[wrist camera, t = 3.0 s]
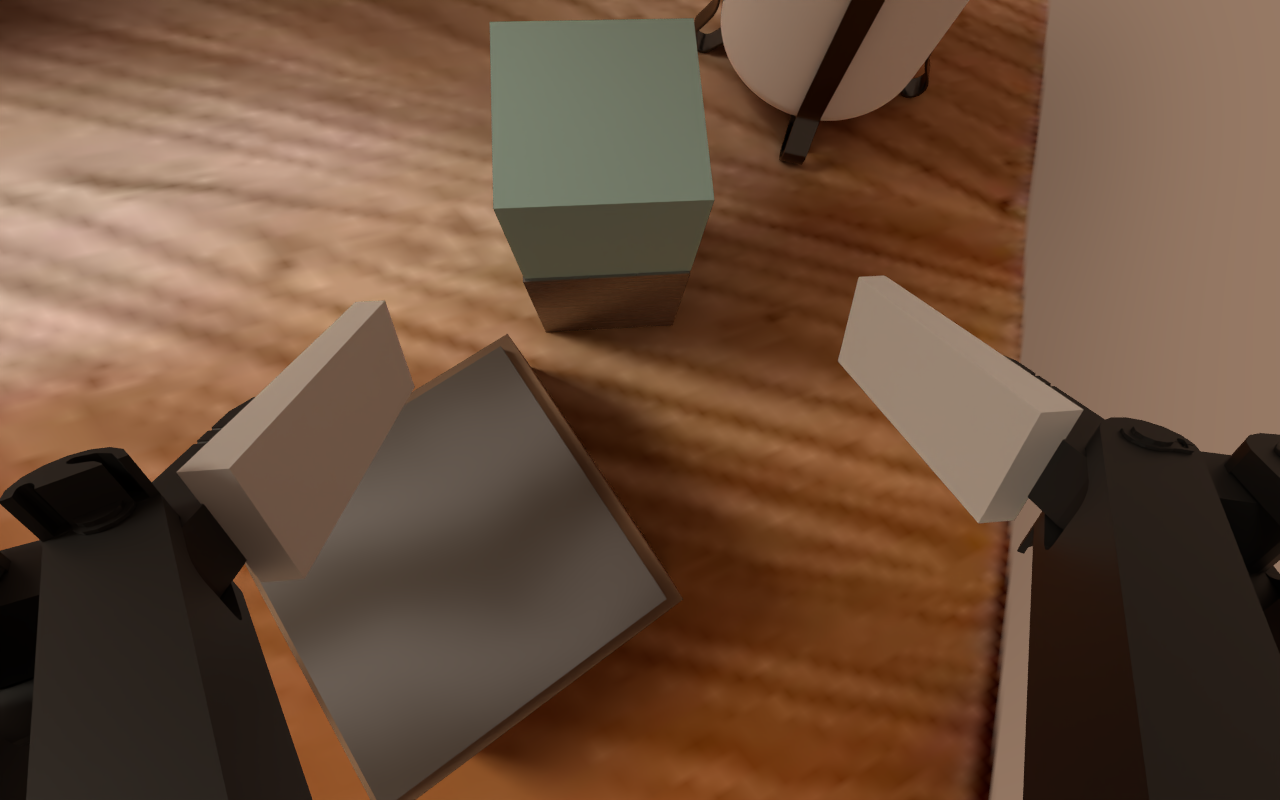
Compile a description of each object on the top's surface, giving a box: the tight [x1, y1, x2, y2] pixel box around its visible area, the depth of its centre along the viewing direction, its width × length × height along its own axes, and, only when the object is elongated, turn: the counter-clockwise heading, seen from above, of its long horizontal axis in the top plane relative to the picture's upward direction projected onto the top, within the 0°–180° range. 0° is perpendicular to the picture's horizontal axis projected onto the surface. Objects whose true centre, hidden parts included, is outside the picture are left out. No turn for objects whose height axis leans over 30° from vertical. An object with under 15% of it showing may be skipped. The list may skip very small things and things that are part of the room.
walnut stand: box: [245, 334, 683, 800], centre depth 21 cm, size 13×13×6 cm
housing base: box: [523, 271, 690, 332], centre depth 24 cm, size 7×7×6 cm
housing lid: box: [490, 18, 714, 279], centre depth 18 cm, size 7×9×5 cm
